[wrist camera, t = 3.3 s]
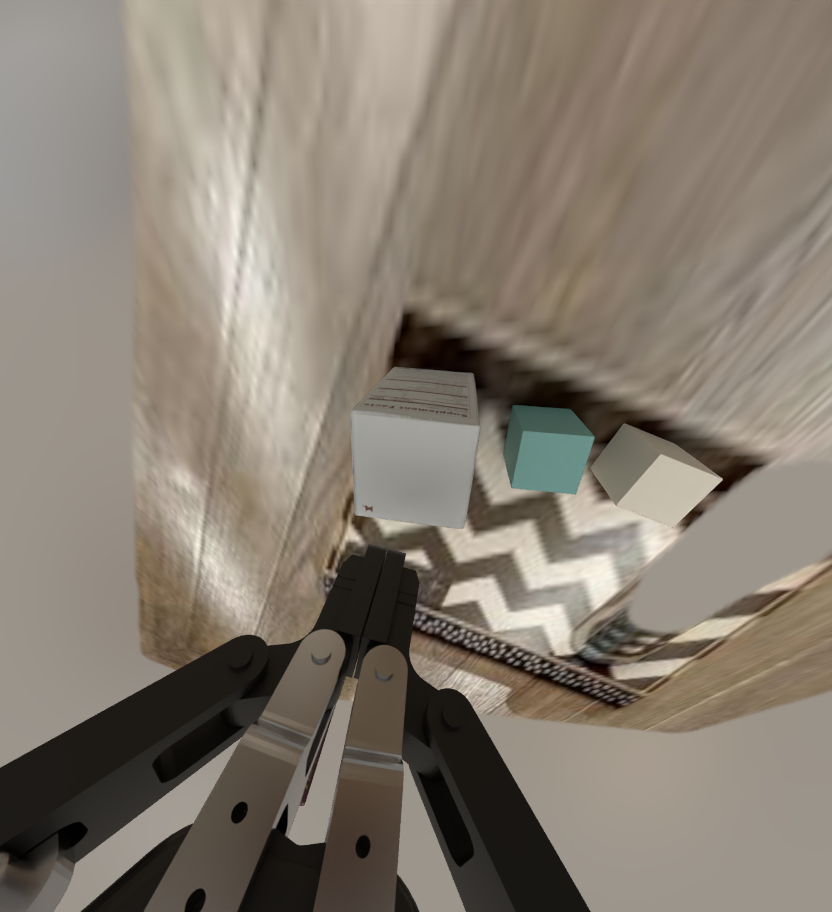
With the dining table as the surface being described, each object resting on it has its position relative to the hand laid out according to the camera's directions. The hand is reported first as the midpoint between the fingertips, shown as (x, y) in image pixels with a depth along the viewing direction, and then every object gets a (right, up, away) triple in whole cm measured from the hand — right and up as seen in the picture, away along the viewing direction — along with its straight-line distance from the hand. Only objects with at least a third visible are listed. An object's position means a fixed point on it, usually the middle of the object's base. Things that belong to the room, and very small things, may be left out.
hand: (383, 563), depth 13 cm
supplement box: (+3, +9, +17) cm, 20 cm away
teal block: (+12, +6, +17) cm, 22 cm away
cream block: (+21, +4, +16) cm, 27 cm away
